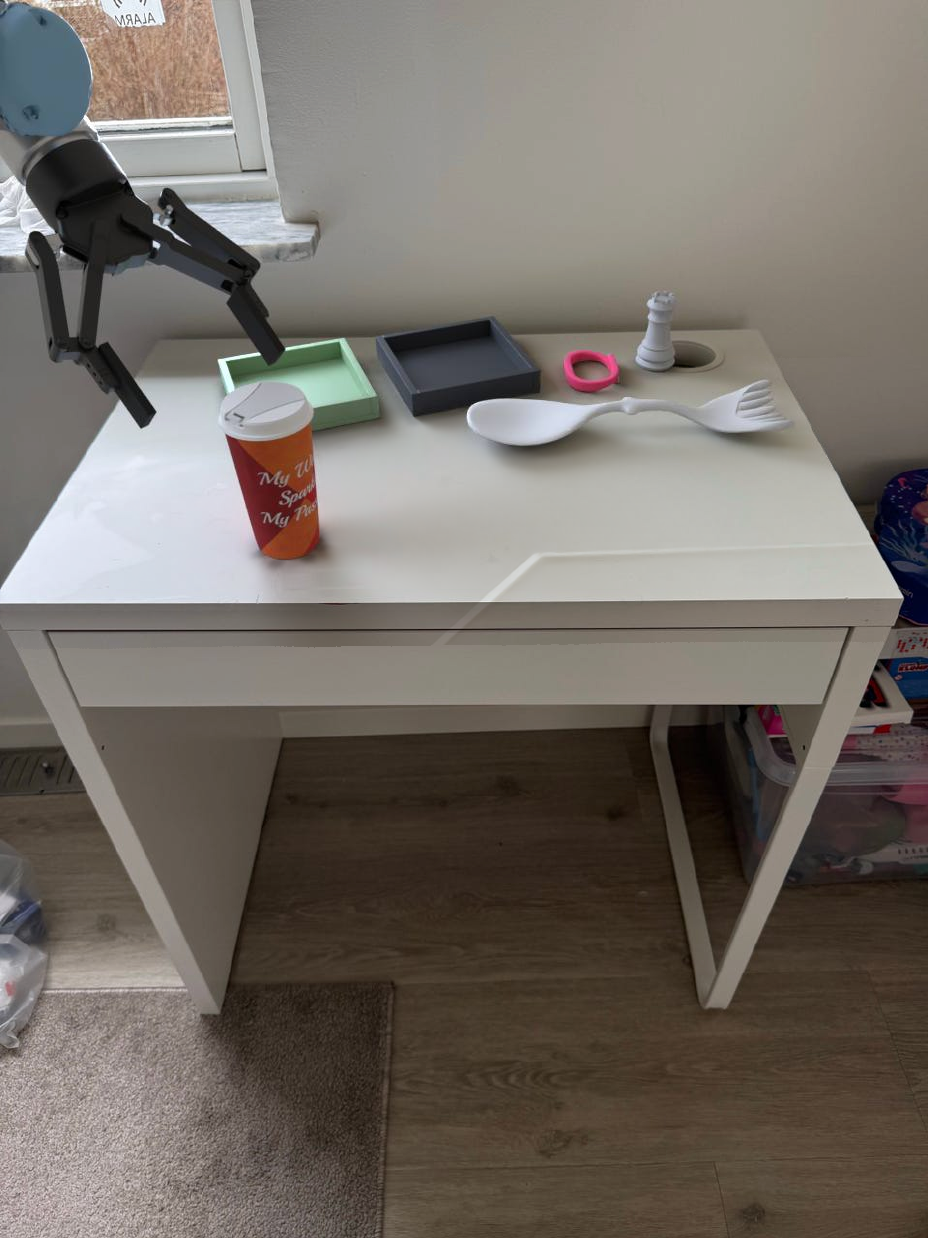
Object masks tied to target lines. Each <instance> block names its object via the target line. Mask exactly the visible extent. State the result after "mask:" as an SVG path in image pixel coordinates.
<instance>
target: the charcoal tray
mask: <svg viewBox="0 0 928 1238" xmlns="http://www.w3.org/2000/svg"><path fill="white" fill-rule="evenodd" d="M375 349H376V357H377V359H378V360H379V362H380V364H381V366H382V367H383V369H384V370H385V372H386V374H387V376H388V378H389V379H390V380H391V382H392V384H393V385H394V387H395V388H396V390H397V392H398V394H399V395H400V397H401V399H402V400H403V403H404V404H405V405H406V408H408V410H409V412H410V414H411V415H412V417H417V416H423V415H427V414H428V415H429V414H432V413H433V414H434V413H438V412H442V411H448V410H453V409H458V408H463V407H469V406H472V405H473V404H475V403H478V402H481V401H486V400H493V399H511V398H515V397H519V396H524V395H525V396H526V395H531V394H536V393H540V392H541V377H542V376H541V375H542V374H541V371H542V370H541V369H540V368H539V367H538V366H537V364H536V363H535V362H534V361H533V359H532V358H531V357H530V356H529V355H528V353H526V351H524V349H523V348H522V347H521V346H520V344H518V342H517V341H516V340H515V339H514V338H513V336H512V335H511V334H510V333H509V332H508V330H506V328H505V327H504V326H503V325H502V324H501V322H500V321H499V320H498V318H496V316H494V315H492V316H491V315H490V316H487V317H486V316H485V317H479V318H475V319H469V320H462V321H457V322H456V321H455V322H450V323H445V324H439V325H434V326H427V327H423V328H417V329H409V330H405V331H399V332H393V333H387V334H381V335H376V336H375Z"/></svg>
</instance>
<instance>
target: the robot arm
mask: <svg viewBox="0 0 928 1238" xmlns="http://www.w3.org/2000/svg"><path fill="white" fill-rule="evenodd" d="M92 87H93V71H92V66H91V62H90V58H89V55H88V52H87V49H86V47H85V45H84V43H83V41H82V39H81V37H80V36H79V34H78V33H77V31H76V30H75V29H74V27H73V26H72V25H71V24H70V23H69V22H68V21H67V20H66V19H65V18H63V17H62V16H61V15H59V14H58V13H56V12H54V11H53V10H49V9H47V8H42V7H38V6H33V5H31V4H29V3H27V2H25V1H10V2H9V1H8V0H0V157H1V159H2V160H3V162H4V163H5V165H6V166H7V167H8V169H9V170H10V172H11V173H12V174H13V176H14V178H15V180H17V182H19V184H20V185H21V186H23V187H25V188H24V189H25V194H26V195H27V196H28V198H29V200H30V201H31V202H32V204H33V205H34V207H35V208H36V210H37V211H38V213H39V214H40V215H41V216H42V218H43V220H44V222H46V224H47V226H49V227H50V228H51V229H52V230H53V232H54V233H51V234H44V233H43V232H41V231H38V230H32V231H30V233H29V234H28V238H27V241H26V245H25V250H24V256H25V258H26V260H27V262H28V263H29V265H30V267H31V268H32V271H33V272H34V274H35V275H36V283H37V290H38V296H39V301H40V308H41V314H42V315H41V316H42V321H43V327H44V333H45V340H46V346H47V353H48V357H49V359H50V361H52V362H53V363H55V364H63V362H64V361H72V362H73V363H74V364H75V365H77V366H79V367H84V368H85V369H86V371H87V372H88V373H89V375H90V376H91V378H92V380H93V381H94V382H95V383H96V384H97V386H98V388H99V389H100V391H102V392H103V394H105V395H107V396H109V395H110V394H112V393H115V394H116V396H117V397H118V399H119V401H121V403H122V405H123V406H124V408H125V409H126V410H127V412H128V413H129V414H130V416H131V418H132V419H133V420H134V421H135V423H136V424H137V426H138V427H139V429H140V430H142V429H144V428H146V427H148V426H150V424H151V422H152V421H153V419H154V418H155V416H156V414H157V410H156V409H155V407H154V406H153V404H152V403H151V401H150V400H149V399H148V397H147V396H146V394H145V392H144V391H143V390H142V388H141V387H140V386H139V384H138V383H137V381H136V380H135V378H134V377H133V376H132V374H131V372H130V371H129V370H128V368H127V367H126V366H125V364H124V362H123V361H122V360H121V359H120V357H119V355H118V354H117V352H116V351H115V350H114V348H113V347H112V346H111V344H110V342H109V341H106V342H102V343H101V344H99V345H98V346H97V344H96V343H97V335H98V327H99V326H98V325H99V318H100V317H99V316H100V310H101V309H100V308H101V298H102V291H103V282H104V274H105V275H111V277H116V276H118V275H122V274H123V272H125V271H126V270H128V269H137V268H140V267H143V266H144V265H145V263H146V262H150V263H151V264H154V265H156V266H166V267H168V268H170V269H173V270H174V271H177V272H179V273H181V274H183V275H185V276H188V277H189V278H192V279H194V280H196V281H198V282H200V283H202V284H205V285H207V286H209V287H211V288H213V289H216V290H217V291H220V292H222V293H223V294H226V295H228V296H229V298H228V299H227V301H226V302H225V304H226V305H227V307H228V309H229V310H230V311H231V313H232V314H233V316H234V317H235V319H236V320H237V322H238V323H239V325H240V326H241V327H242V329H243V330H244V333H245V334H246V335H247V336H248V338H249V340H250V341H251V342H252V344H253V346H254V347H255V349H256V350H257V352H259V353H260V354H261V356H262V357H263V359H264V360H265V362H266V363H267V365H268V366H270V365H272V364H274V363H276V361H277V360H278V359H279V358H280V356H281V355H282V354H283V353H284V351H285V350H286V349H285V348H286V347H285V346H284V344H283V343H282V341H281V340H280V338H279V336H278V335H277V333H276V332H275V331H274V329H273V328H272V326H271V324H270V323H269V322H268V318H270V313H269V309H268V308H267V307H266V305H265V304H264V302H263V301H262V299H261V298H260V296H259V295H258V293H257V292H256V290H255V289H254V288H253V285H252V281H253V280H254V278H255V277H256V275H257V274H258V272H259V271H260V269H261V262H260V261H259V260H258V259H257V258H256V257H254V256H253V255H252V254H250V253H249V252H247V250H245V249H244V248H243V247H241V246H240V245H239V244H237V243H236V242H234V241H233V240H231V238H229V237H228V236H226V235H225V234H224V233H223V232H221V231H220V230H219V229H217V228H216V227H214V226H213V225H211V223H209V222H207V221H206V220H205V219H204V218H202V217H201V216H199V215H198V214H197V213H195V212H194V211H192V210H191V209H190V208H189V207H187V205H186V203H185V202H184V201H183V200H182V199H181V198H180V196H179V195H178V194H177V193H176V191H175V190H174V189H172V188H171V187H164V188H163V189H162V190H161V192H160V195H159V196H158V197H156V198H154V199H152V200H150V201H148V202H146V201H144V200H142V199H141V198H140V197H138V195H137V194H136V193H135V191H134V189H133V187H132V184H131V183H130V181H129V178H128V177H127V175H126V173H125V172H124V171H123V169H122V167H121V166H120V164H119V163H118V162H117V160H116V159H115V157H114V156H113V155H112V153H111V151H110V150H109V148H108V147H107V145H105V144H104V143H103V142H101V141H100V136H99V134H98V133H99V132H98V131H97V130H96V129H95V127H94V126H93V124H92V123H91V121H90V120H89V118H88V117H87V113H88V111H89V108H90V105H91V96H92V94H93V93H92V92H93V91H92ZM154 220H156V221H158V223H159V225H157V224H155V223H154ZM164 227H167V228H168V229H169V230H168V229H166V228H164ZM175 235H176V236H177V237H179V238H180V239H179V238H177V237H175ZM154 242H155V243H157V244H158V246H154ZM61 252H62V253H64V254H65V255H67V256H69V257H71V258H72V259H75V260H76V261H79V262H80V263H82V264H83V266H82V275H81V283H80V284H81V289H80V297H79V307H78V315H77V322H76V323H77V324H76V331H75V333H76V334H75V336H71V337H70V330H69V325H68V319H67V318H68V317H67V312H66V307H65V306H66V305H65V299H64V293H63V287H62V281H61V276H60V275H61V274H60V269H59V261H60V258H61Z"/></svg>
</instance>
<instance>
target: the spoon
mask: <svg viewBox="0 0 928 1238" xmlns="http://www.w3.org/2000/svg"><path fill="white" fill-rule="evenodd" d="M772 384H773V383H772V380H771V379H762V380H758V381H755V382H753V383H750V384H748V385H747V386H744V387H742V388H740V389H737V390H735V391H733V392H729V393H727V394H723V395H721V396H718V397H716V398H713V399H711V400H710V401H708V402H706V403H705V404H703V405H701V406H697V407H693V406H688V405H685V404H682V403H679V402H676V401H672V400H667V399H643V398H642V399H641V398H635V397H632V396H625V397H623V398H622V400H616V401H608V402H603V403H595V404H577V403H567V402H561V401H554V400H553V401H552V400H545V399H530V398H529V399H526V398H505V399H493V400H486V401H481V402H478V403H475V404H473V405H470V407H468V409H467V413H466V421H467V425H468V427H469V428H470V430H471V431H472V432H474V433H475V434H476V435H478V436H480V437H482V438H484V439H487V440H488V441H491V442H494V443H497V444H503V445H508V446H518V447H519V446H520V447H527V446H539V445H544V444H548V443H552V442H553V443H554V442H555V441H558V440H560V439H563V438H565V437H567V436H569V435H571V434H572V433H574V432H575V431H576V430H578V429H579V428H581V427H582V426H584V425H586V424H587V423H588V422H589V421H591V420H593V419H594V418H597V417H599V416H602V415H605V414H609V413H610V414H611V413H624V414H625V415H628V416H635V415H638V414H639V413H644V412H667V413H671V414H674V415H678V416H680V417H683V418H685V419H686V420H689V421H692V422H693V423H695V424H697V425H699V426H702V427H704V428H706V429H708V430H712V431H716V432H718V433H719V432H720V433H734V434H736V433H739V434H740V433H757V432H758V433H762V432H778V431H784V430H787V429H790V428H791V427H793V425H794V420H792V419H788V418H787V417H785V416H783V413H782V412H774V411H775V410H776V409H777V406H775V405H767V404H769V403H771V402H772V401H774V397H773V396H769V395H771V394H772V392H773V390H772V389H768V388H770V387H771V386H772ZM764 405H767V406H764ZM772 412H773V413H772Z"/></svg>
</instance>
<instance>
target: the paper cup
mask: <svg viewBox="0 0 928 1238" xmlns="http://www.w3.org/2000/svg"><path fill="white" fill-rule="evenodd" d="M313 414H314V410H313V407H312V405H311V403H310V402H309V401H308V400H307V399H306V396H305V394H304V393H303V392H302V391H301V390H300V389H299V388H297V387H295V386H293V385H291V384H288V383H283V382H257V383H252V384H248V385H245V386H242V387H239V388H237V389H235V390H234V391H232V392H230V393H229V394H228V395H227V394H226V396H225V397H224V398H223V399H222V401H221V404H220V412H219V414H218V417H217V424H218V427H219V429H220V430H221V432H222V433H224V434H225V435H224V436H225V438H226V439H225V440H226V442H227V446H228V449H229V452H230V456H231V460H232V463H233V466H234V470H235V474H236V477H237V481H238V485H239V489H240V492H241V495H242V498H243V501H244V502H243V503H244V505H245V509H246V512H247V515H248V519H249V522H250V525H251V528H252V532H253V536H254V538H255V541H256V545H257V547H258V550H259V552H261V553H262V554H263V555H265V556H267V558H271V559H276V560H293V559H297V558H300V557H303V556H306V555H307V554H309V553H310V552H312V551H313V550H315V548H316V547H317V546H318V544H319V541H320V518H319V517H320V515H319V504H318V491H317V481H316V480H317V479H316V467H315V456H314V443H313V435H312V434H313V431H312V430H311V420H312V417H313Z"/></svg>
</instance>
